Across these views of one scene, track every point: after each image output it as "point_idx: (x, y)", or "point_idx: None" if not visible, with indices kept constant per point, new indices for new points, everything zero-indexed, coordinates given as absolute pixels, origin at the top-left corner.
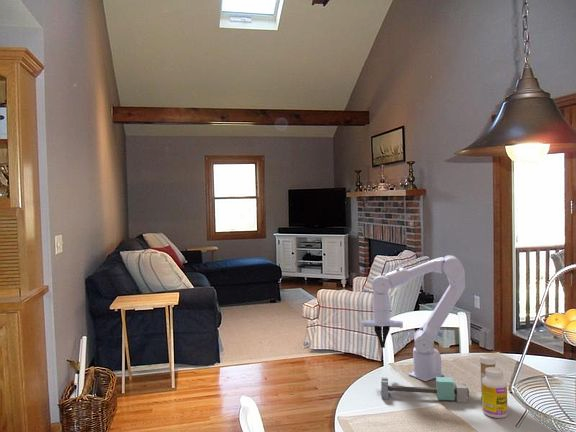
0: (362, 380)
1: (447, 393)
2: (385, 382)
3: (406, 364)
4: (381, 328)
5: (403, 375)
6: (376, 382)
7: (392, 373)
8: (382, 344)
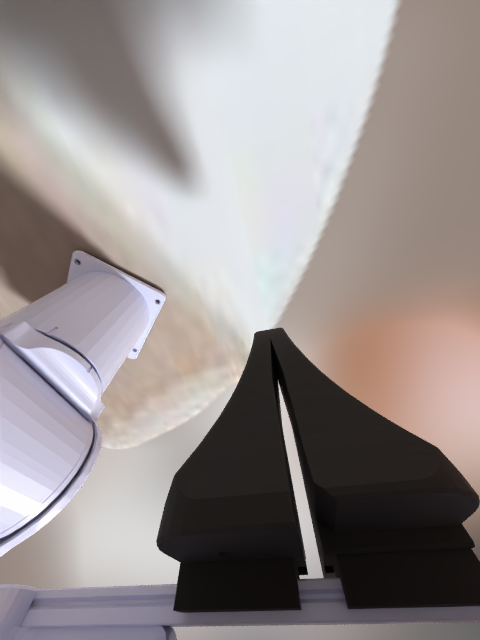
0: (340, 159)
1: None
2: None
3: (207, 372)
4: (320, 539)
5: (182, 286)
6: (267, 157)
7: (226, 291)
8: (272, 345)
